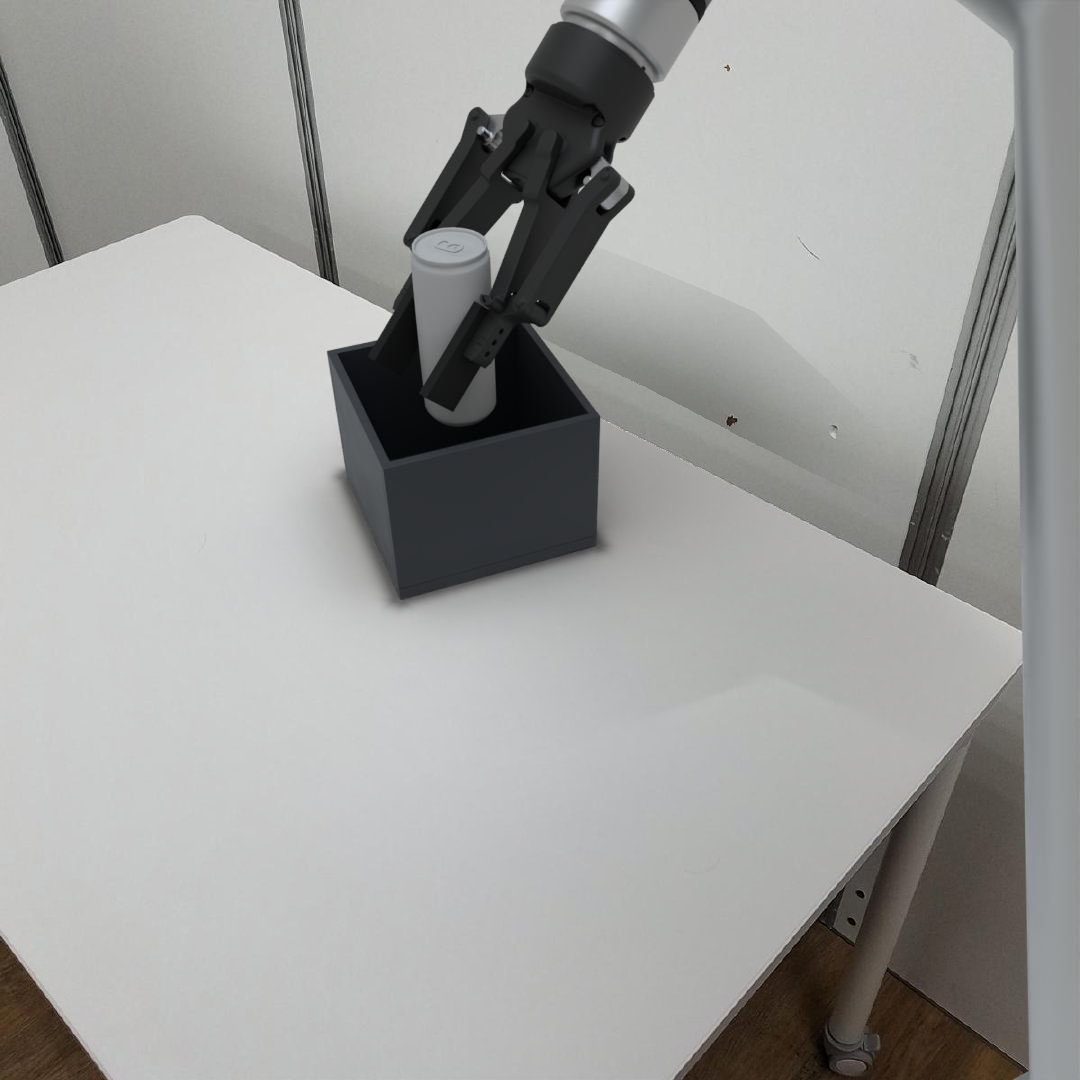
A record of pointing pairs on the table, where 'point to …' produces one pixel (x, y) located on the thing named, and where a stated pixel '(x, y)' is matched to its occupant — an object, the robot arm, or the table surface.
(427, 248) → the beverage can
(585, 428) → the trash bin
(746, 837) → the table surface
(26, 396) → the table surface
